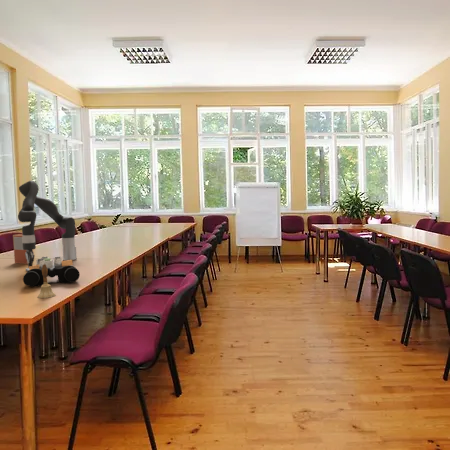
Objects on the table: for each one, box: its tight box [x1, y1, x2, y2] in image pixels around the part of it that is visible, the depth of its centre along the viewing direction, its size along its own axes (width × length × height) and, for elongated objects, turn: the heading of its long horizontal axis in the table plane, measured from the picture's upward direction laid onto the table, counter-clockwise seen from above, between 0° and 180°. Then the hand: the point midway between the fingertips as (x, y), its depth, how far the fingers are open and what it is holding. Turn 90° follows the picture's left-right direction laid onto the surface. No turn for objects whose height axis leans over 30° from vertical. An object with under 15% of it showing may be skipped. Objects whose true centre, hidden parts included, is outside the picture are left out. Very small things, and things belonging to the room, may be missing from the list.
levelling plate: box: [25, 256, 64, 273], centre depth 273 cm, size 24×17×8 cm
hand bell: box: [37, 264, 56, 299], centre depth 200 cm, size 8×8×16 cm
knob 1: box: [29, 258, 45, 270], centre depth 264 cm, size 12×5×7 cm, turn 164°
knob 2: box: [53, 256, 74, 267], centre depth 276 cm, size 12×5×7 cm, turn 131°
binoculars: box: [22, 265, 81, 288], centre depth 231 cm, size 29×20×10 cm
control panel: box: [12, 233, 28, 265], centre depth 304 cm, size 21×7×15 cm
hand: (30, 268), depth 262 cm, fingers closed
